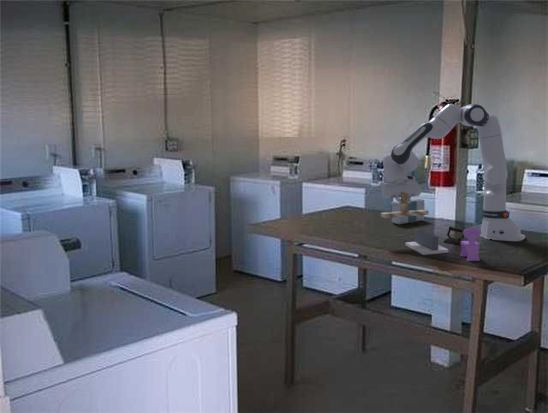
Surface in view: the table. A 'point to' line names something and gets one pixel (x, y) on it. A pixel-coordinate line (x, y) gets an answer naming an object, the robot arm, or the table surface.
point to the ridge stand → (426, 243)
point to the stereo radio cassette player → (414, 205)
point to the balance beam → (404, 209)
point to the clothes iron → (454, 240)
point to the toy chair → (471, 244)
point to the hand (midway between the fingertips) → (405, 203)
